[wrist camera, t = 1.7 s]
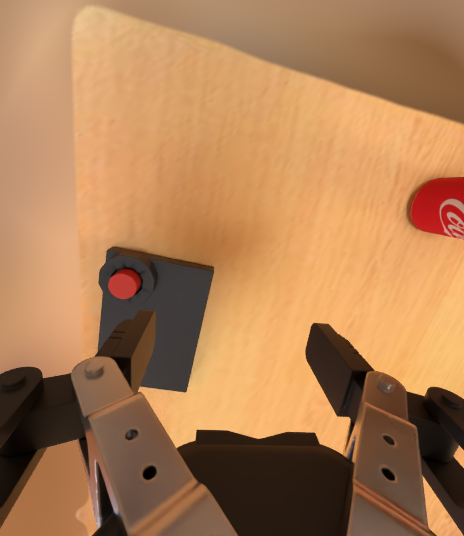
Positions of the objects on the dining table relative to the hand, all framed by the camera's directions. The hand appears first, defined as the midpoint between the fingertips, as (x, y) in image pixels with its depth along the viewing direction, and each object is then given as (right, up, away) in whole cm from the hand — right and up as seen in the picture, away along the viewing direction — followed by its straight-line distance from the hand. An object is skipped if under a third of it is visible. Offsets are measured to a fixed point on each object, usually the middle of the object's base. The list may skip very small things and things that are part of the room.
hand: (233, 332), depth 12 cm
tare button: (-11, +2, +14) cm, 18 cm away
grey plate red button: (-10, -4, +19) cm, 22 cm away
